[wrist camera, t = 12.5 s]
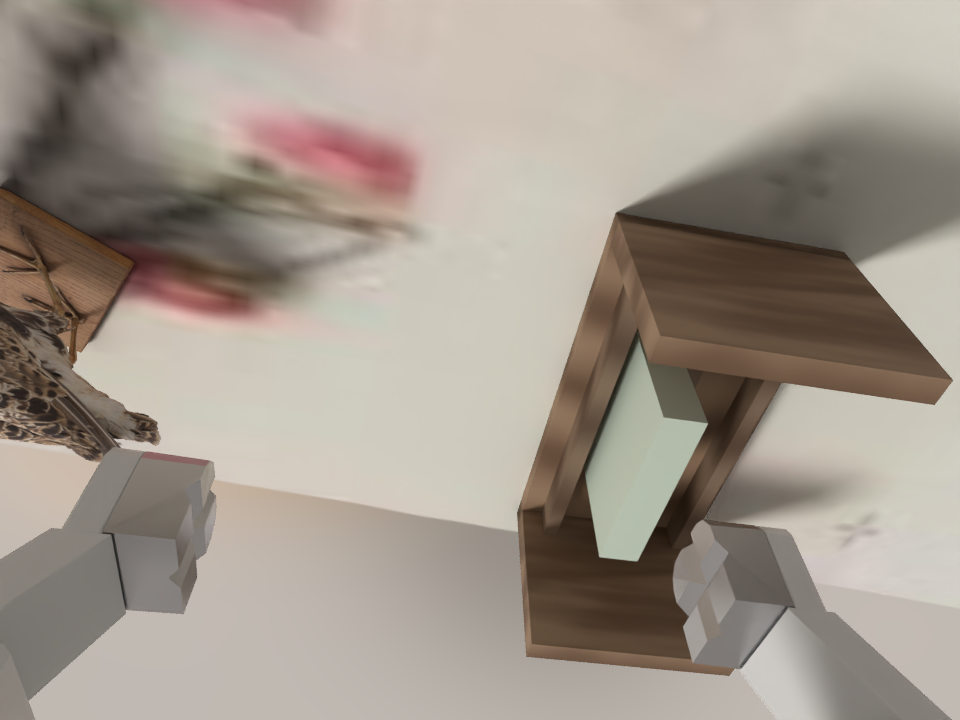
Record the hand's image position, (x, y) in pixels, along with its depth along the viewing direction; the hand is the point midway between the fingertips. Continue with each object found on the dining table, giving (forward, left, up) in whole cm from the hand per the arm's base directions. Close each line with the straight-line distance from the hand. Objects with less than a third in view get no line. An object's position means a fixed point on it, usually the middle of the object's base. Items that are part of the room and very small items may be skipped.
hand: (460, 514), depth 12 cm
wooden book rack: (0, +26, -29) cm, 39 cm away
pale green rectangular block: (+2, +24, -28) cm, 37 cm away
